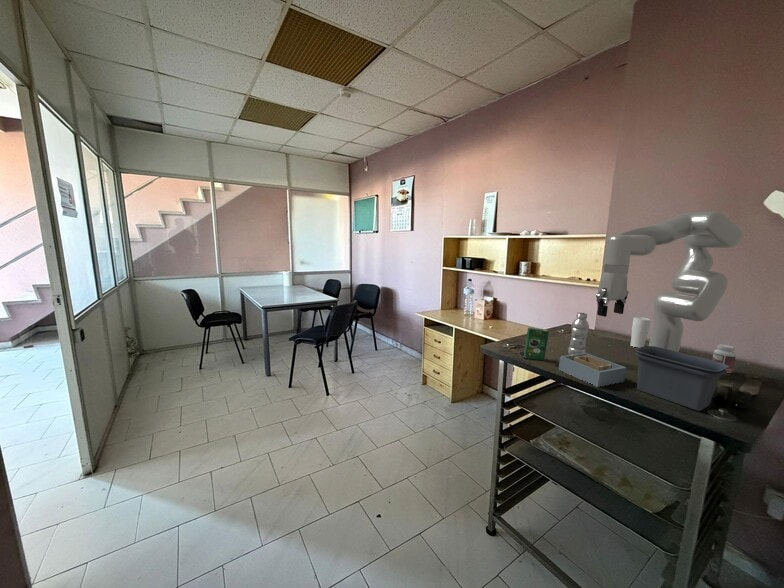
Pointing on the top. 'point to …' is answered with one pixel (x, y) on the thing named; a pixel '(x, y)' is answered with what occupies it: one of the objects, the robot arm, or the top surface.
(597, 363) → the wooden crate
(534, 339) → the coffee box
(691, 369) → the storage bin
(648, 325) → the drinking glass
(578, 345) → the plastic bottle
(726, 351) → the pill bottle
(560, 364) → the grey crate
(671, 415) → the top surface
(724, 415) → the top surface
